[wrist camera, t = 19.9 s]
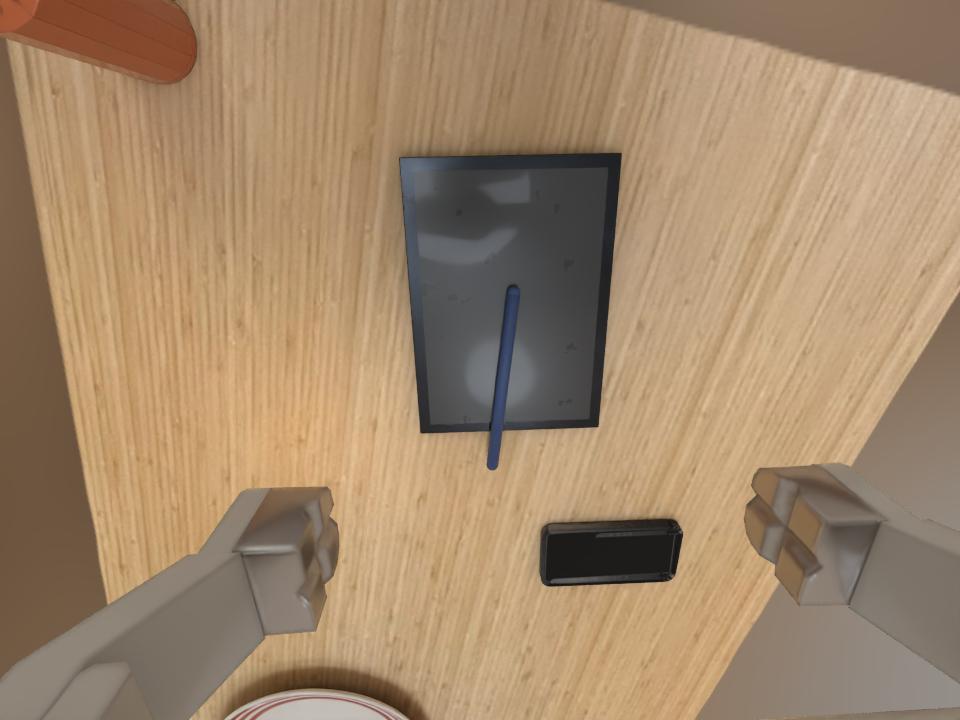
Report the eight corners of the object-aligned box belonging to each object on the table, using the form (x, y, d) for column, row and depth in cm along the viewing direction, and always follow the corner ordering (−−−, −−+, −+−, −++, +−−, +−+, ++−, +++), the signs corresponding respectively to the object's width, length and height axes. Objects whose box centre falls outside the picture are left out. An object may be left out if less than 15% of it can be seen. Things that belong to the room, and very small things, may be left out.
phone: (674, 581, 52) (540, 587, 51) (669, 573, 53) (539, 579, 52) (684, 525, 49) (543, 531, 48) (680, 518, 50) (541, 523, 49)
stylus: (513, 288, 37) (490, 473, 44) (523, 287, 38) (499, 470, 45) (505, 285, 38) (483, 467, 45) (516, 284, 39) (493, 464, 45)
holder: (100, -11, 31) (-128, -128, 19) (186, -12, 31) (13, -129, 19) (125, 84, 33) (-66, 32, 21) (206, 83, 33) (61, 31, 21)
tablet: (400, 158, 36) (398, 157, 35) (618, 153, 36) (622, 152, 35) (421, 428, 45) (420, 434, 44) (595, 422, 45) (598, 428, 44)
